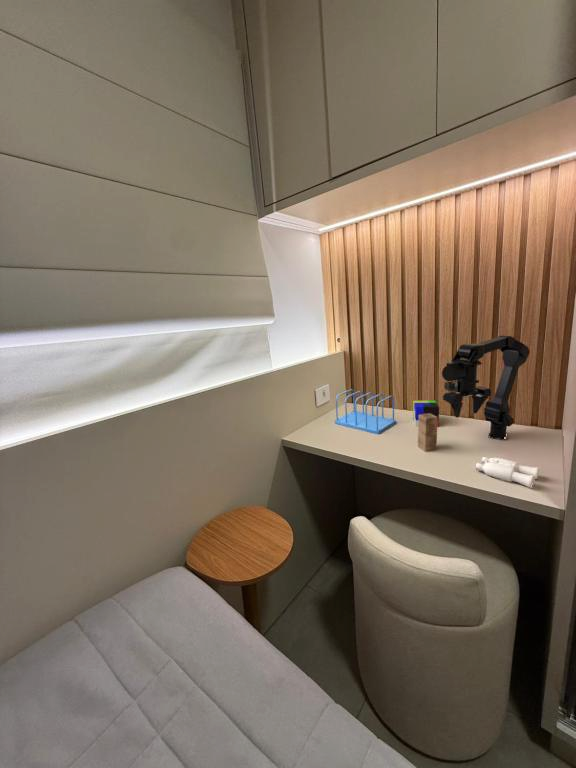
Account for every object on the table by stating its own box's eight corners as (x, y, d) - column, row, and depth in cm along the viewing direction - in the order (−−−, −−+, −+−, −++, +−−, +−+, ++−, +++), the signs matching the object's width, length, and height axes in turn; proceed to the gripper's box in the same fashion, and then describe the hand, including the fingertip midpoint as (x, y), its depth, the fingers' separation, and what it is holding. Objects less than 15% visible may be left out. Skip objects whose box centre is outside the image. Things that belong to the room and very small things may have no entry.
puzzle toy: (415, 426, 153) (416, 407, 151) (413, 419, 163) (413, 400, 160) (438, 427, 151) (439, 407, 149) (434, 419, 160) (434, 400, 158)
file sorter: (334, 423, 165) (333, 395, 162) (353, 414, 177) (352, 387, 173) (378, 434, 148) (377, 403, 144) (396, 423, 160) (396, 393, 156)
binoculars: (530, 491, 99) (532, 477, 98) (474, 474, 110) (474, 462, 109) (538, 477, 105) (540, 464, 104) (484, 462, 117) (485, 451, 116)
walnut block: (429, 444, 134) (430, 413, 130) (437, 449, 129) (438, 417, 126) (417, 446, 133) (418, 414, 130) (425, 451, 128) (426, 418, 125)
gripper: (469, 370, 134) (467, 405, 138) (433, 376, 129) (432, 413, 132) (493, 375, 124) (490, 413, 128) (455, 382, 118) (453, 422, 122)
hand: (466, 415), depth 128 cm, fingers open, 9 cm apart
